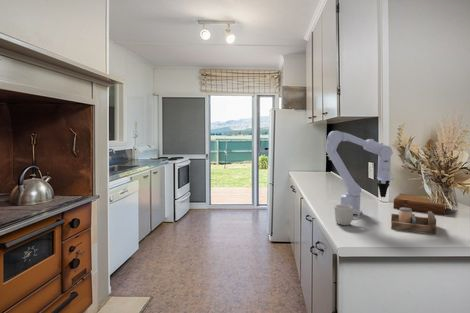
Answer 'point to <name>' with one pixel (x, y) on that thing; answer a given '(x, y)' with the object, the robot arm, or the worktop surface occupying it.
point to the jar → (405, 215)
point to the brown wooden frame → (426, 228)
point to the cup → (345, 214)
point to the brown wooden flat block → (418, 204)
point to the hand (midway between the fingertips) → (383, 195)
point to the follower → (413, 219)
